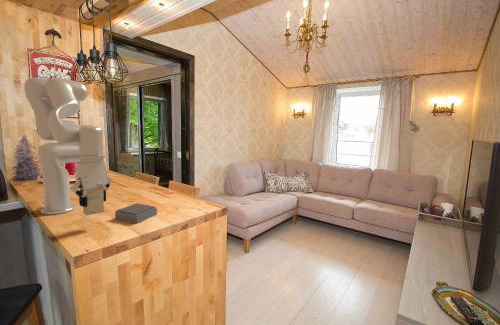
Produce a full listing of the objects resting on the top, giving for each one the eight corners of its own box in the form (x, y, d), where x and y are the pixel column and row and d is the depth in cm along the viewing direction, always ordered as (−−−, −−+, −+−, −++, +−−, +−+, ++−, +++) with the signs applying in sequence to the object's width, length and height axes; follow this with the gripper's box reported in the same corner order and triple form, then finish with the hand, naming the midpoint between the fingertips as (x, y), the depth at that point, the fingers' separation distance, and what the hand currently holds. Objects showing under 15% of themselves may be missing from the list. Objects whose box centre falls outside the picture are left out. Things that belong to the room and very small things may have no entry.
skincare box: (86, 216, 91) (84, 184, 89) (82, 212, 93) (81, 182, 92) (104, 212, 95) (103, 182, 93) (100, 209, 98) (100, 180, 96)
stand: (115, 219, 104) (115, 210, 104) (136, 210, 116) (136, 202, 115) (136, 223, 100) (136, 214, 100) (156, 214, 112) (156, 206, 111)
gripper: (105, 155, 100) (106, 196, 103) (60, 160, 84) (63, 208, 87) (118, 157, 98) (119, 199, 101) (75, 162, 82) (77, 212, 84)
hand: (93, 203), depth 94 cm, fingers closed on skincare box, 7 cm apart
